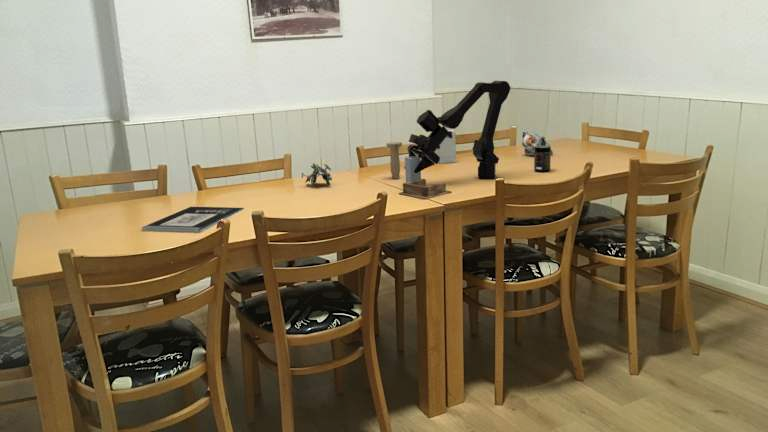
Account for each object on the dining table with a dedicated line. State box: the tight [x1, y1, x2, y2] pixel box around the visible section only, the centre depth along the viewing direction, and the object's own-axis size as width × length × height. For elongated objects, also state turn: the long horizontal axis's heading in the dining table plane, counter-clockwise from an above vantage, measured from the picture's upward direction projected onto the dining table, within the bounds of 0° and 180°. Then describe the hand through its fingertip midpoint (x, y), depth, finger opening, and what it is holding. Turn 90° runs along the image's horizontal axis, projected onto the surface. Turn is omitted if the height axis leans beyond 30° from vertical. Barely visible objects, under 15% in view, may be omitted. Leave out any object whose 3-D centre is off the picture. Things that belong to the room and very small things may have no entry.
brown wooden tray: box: [398, 178, 452, 201], centre depth 238 cm, size 14×14×4 cm
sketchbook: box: [141, 206, 245, 234], centre depth 216 cm, size 22×30×2 cm
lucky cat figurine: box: [521, 131, 554, 156], centre depth 304 cm, size 15×12×14 cm
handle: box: [386, 141, 403, 180], centre depth 266 cm, size 5×6×15 cm
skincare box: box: [435, 129, 457, 165], centre depth 297 cm, size 8×6×15 cm
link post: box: [404, 156, 422, 183], centre depth 248 cm, size 4×4×12 cm
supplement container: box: [533, 145, 552, 173], centre depth 268 cm, size 7×7×10 cm
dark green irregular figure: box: [301, 162, 333, 188], centre depth 260 cm, size 11×11×12 cm
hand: (409, 170), depth 247 cm, fingers open, 9 cm apart
